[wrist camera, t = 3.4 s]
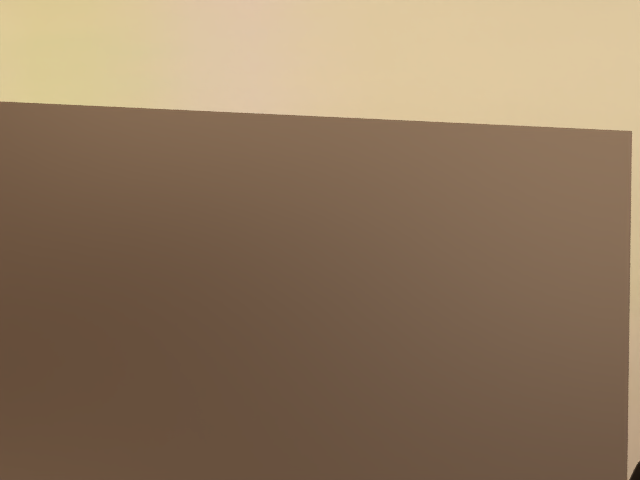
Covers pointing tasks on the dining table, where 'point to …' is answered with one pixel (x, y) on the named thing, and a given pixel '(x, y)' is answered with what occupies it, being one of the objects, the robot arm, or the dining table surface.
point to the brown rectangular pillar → (310, 297)
